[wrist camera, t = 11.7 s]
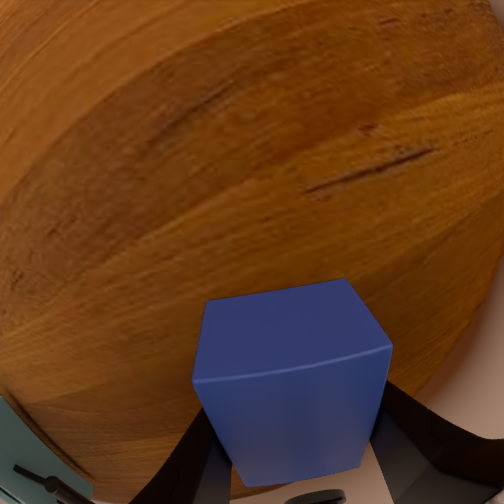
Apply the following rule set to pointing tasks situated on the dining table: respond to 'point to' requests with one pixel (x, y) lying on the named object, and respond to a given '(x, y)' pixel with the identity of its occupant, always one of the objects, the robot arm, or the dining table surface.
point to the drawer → (35, 467)
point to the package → (292, 380)
